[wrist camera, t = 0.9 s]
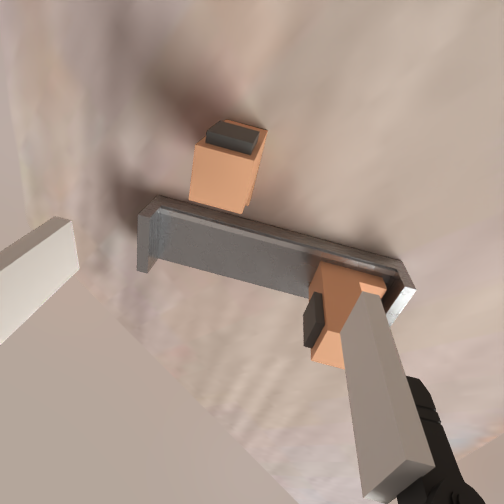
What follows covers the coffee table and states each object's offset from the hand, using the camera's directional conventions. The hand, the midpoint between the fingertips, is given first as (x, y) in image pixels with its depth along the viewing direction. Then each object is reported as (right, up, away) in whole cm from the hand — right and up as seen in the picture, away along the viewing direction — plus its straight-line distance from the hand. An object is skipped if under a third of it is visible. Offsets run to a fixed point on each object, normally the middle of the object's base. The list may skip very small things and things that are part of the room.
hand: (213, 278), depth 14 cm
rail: (+4, +1, +22) cm, 22 cm away
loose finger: (+1, +11, +16) cm, 19 cm away
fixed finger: (+12, -2, +20) cm, 23 cm away
